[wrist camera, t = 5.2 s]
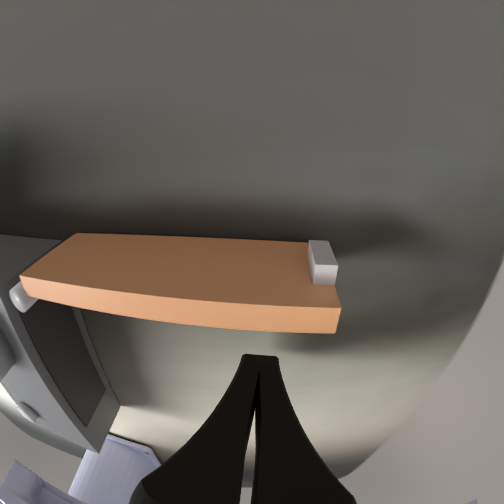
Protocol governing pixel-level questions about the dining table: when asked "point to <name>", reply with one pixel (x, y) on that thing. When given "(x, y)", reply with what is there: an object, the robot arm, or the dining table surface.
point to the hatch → (191, 281)
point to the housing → (51, 356)
